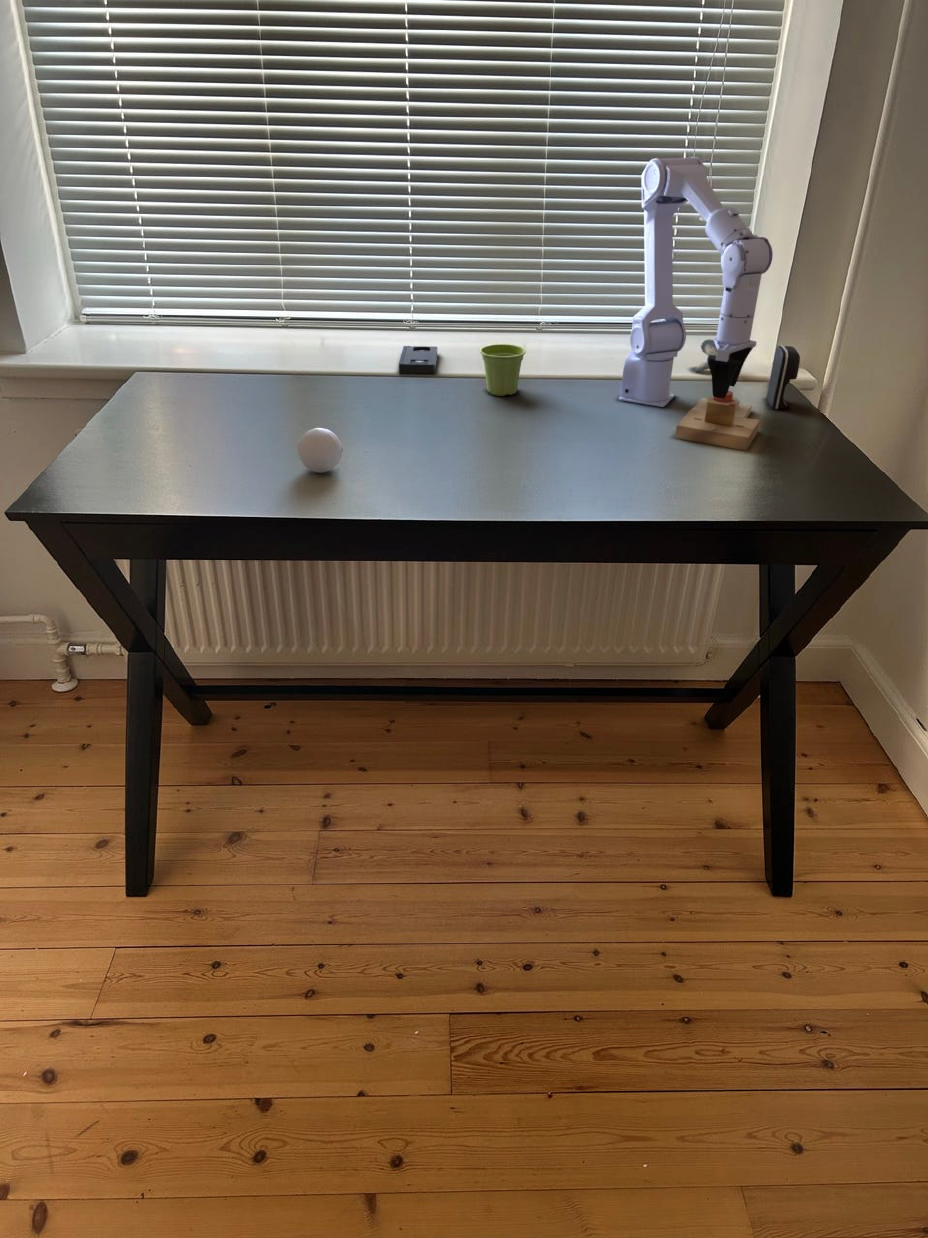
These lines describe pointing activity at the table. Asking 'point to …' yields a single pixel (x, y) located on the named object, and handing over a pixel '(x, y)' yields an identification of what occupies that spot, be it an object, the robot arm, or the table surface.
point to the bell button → (726, 399)
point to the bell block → (740, 410)
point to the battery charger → (782, 375)
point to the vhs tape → (418, 359)
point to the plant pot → (502, 367)
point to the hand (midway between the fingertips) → (724, 391)
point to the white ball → (319, 450)
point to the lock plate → (717, 430)
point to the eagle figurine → (708, 349)
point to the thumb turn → (720, 412)
